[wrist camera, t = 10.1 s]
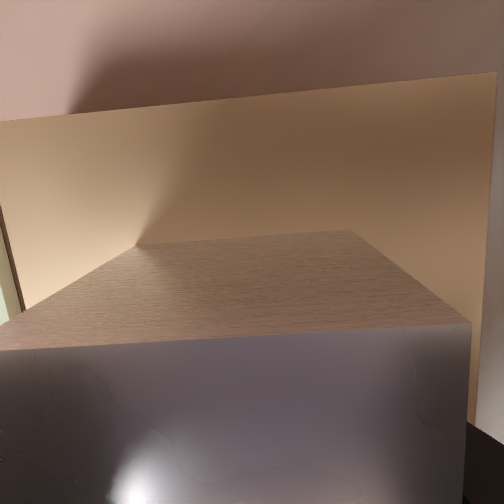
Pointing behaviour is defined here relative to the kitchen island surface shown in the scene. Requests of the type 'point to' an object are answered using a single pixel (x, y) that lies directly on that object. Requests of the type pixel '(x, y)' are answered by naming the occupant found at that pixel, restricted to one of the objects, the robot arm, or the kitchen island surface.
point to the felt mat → (7, 287)
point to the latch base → (263, 181)
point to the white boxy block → (237, 380)
